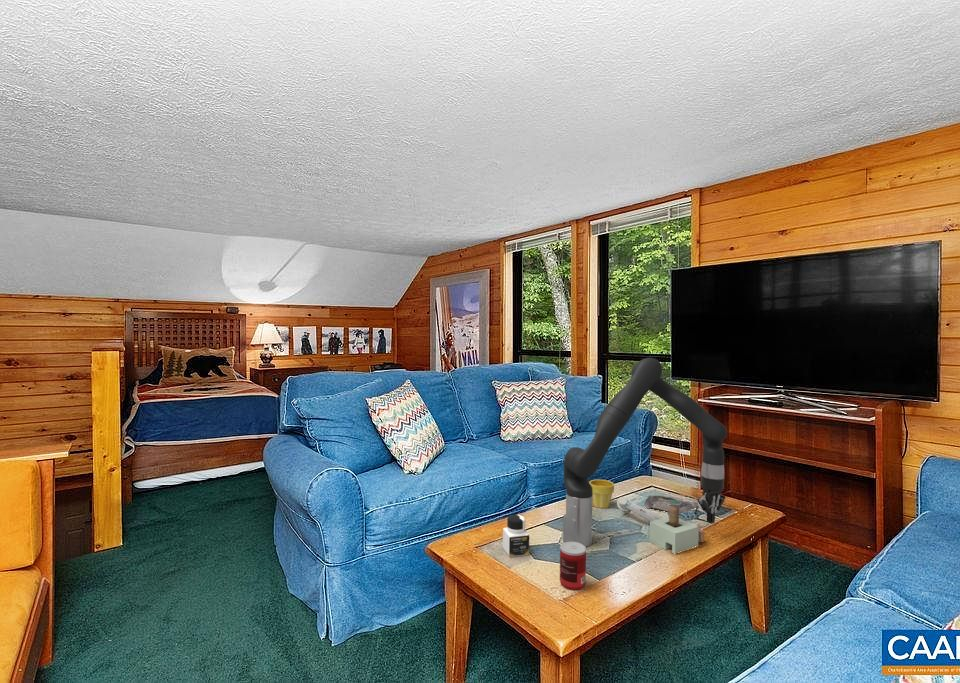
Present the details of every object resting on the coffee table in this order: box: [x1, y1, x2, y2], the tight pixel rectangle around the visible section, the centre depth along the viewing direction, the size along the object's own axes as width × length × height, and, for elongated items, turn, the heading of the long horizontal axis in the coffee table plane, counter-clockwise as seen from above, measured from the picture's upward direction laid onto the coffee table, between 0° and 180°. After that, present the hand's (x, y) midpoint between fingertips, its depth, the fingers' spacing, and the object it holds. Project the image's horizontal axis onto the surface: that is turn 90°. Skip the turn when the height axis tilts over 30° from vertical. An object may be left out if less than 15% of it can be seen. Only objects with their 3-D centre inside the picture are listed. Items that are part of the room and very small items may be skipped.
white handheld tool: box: [616, 496, 664, 523], centre depth 190 cm, size 5×7×25 cm
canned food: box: [559, 542, 587, 591], centre depth 145 cm, size 8×8×11 cm
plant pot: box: [589, 479, 615, 509], centre depth 209 cm, size 10×10×10 cm
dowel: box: [668, 506, 680, 528], centre depth 172 cm, size 3×3×10 cm
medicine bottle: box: [502, 514, 530, 558], centre depth 165 cm, size 7×7×12 cm
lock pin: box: [698, 528, 705, 543], centre depth 172 cm, size 13×2×4 cm, turn 119°
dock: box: [648, 516, 700, 554], centre depth 172 cm, size 12×11×7 cm
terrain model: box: [643, 495, 699, 513], centre depth 208 cm, size 20×15×3 cm
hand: (710, 522), depth 177 cm, fingers closed
